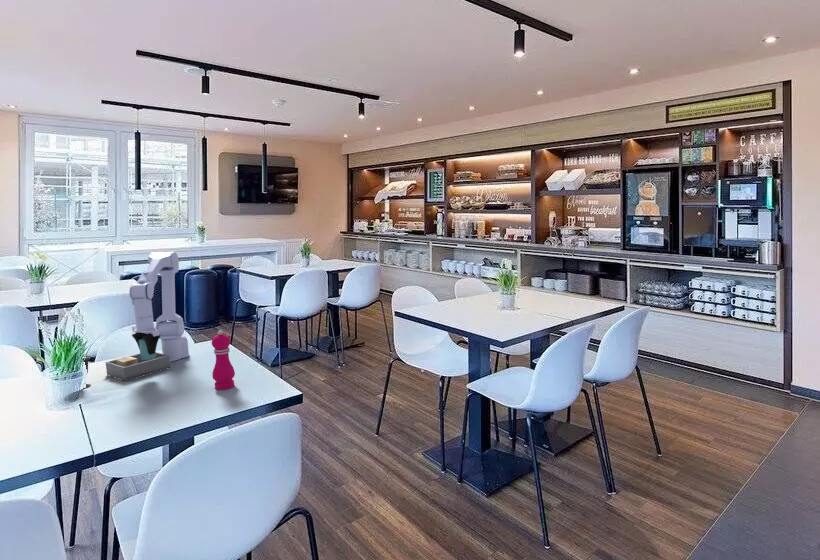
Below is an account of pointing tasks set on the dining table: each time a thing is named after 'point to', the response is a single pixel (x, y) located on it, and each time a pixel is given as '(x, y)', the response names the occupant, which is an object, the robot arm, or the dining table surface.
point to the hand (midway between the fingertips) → (147, 352)
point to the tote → (138, 367)
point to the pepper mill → (222, 362)
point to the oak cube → (127, 361)
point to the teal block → (145, 351)
